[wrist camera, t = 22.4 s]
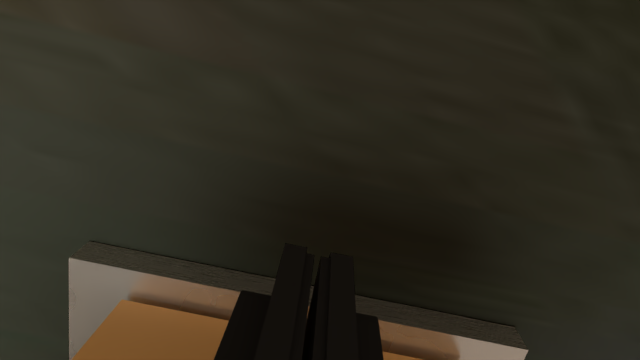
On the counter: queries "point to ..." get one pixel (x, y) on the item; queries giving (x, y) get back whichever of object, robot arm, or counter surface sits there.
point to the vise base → (225, 286)
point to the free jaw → (160, 335)
